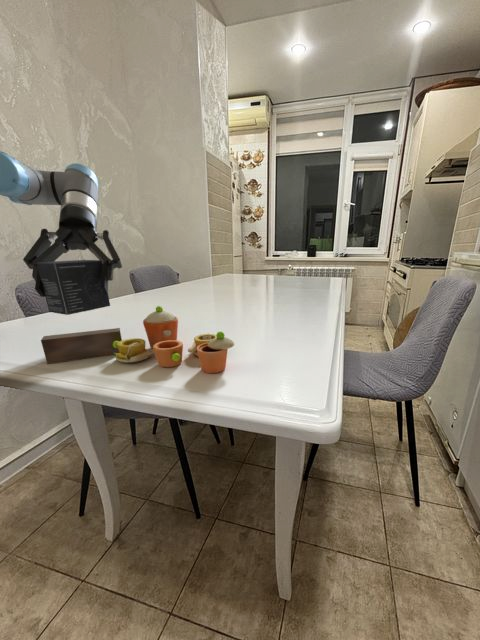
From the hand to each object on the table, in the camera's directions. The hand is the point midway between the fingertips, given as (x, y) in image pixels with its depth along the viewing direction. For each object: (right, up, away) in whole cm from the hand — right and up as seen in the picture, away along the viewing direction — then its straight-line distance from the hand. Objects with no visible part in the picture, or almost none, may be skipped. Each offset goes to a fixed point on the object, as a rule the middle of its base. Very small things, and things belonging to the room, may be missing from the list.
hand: (73, 292), depth 61 cm
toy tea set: (+23, -14, 0) cm, 27 cm away
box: (-1, -3, +4) cm, 5 cm away
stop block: (+3, -14, +1) cm, 14 cm away
